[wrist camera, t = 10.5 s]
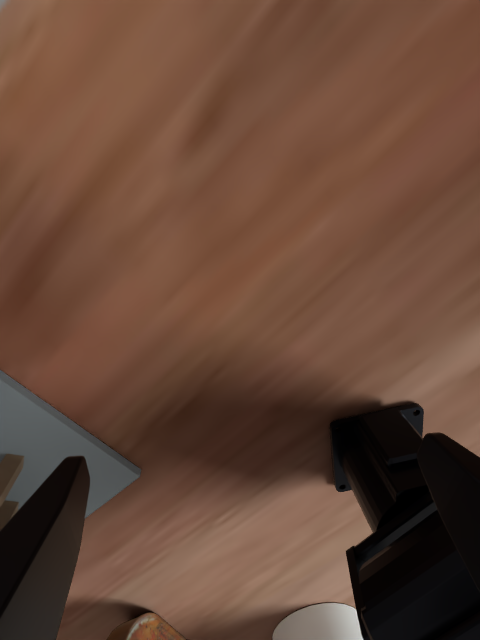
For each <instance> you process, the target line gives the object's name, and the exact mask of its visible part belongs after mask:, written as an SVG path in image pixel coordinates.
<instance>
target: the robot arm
mask: <svg viewBox="0 0 480 640" xmlns="http://www.w3.org/2000/svg"><path fill="white" fill-rule="evenodd" d="M415 410H416V411H415ZM414 411H415V412H414ZM423 414H424V411H423V408H422V407H421V406H420V405H419V404H417V403H413V404H409V405H404V406H399V407H395V408H390V409H386V410H381V411H376V412H372V413H367V414H362V415H358V416H353V417H348V418H344V419H339V420H335V421H333V422H332V423H331V424H330V427H329V429H330V441H331V453H332V465H333V477H334V485H335V487H336V490H337V491H338V492H344V491H349V490H353V492H354V495H355V497H356V499H357V501H358V503H359V505H360V507H361V509H362V511H363V513H364V515H365V517H366V519H367V521H368V523H369V526H370V528H371V530H372V532H373V533H372V534H371V535H370V536H368V537H367V538H366V539H364V540H363V541H362V542H360V543H359V544H358V545H356V546H352V547H351V548H349V549H348V550H347V551H346V556H347V561H348V567H349V572H350V578H351V583H352V589H353V594H354V600H355V605H356V611H357V616H358V621H359V625H360V630H361V635H362V638H363V640H480V457H478V456H477V455H475V454H474V453H472V452H471V451H469V450H468V449H466V448H465V447H463V446H462V445H460V444H459V443H457V442H455V441H454V440H452V439H451V438H449V437H448V436H446V435H445V434H443V433H427V434H426V435H425V436H424V438H422V432H423ZM337 427H339V428H337ZM336 428H337V429H336ZM89 489H90V475H89V471H88V467H87V462H86V459H85V457H84V456H69V457H66V458H65V459H64V460H63V461H62V462H61V463H60V464H59V465H58V466H57V467H56V469H55V470H54V471H53V472H52V473H51V474H50V475H49V476H48V477H47V479H46V480H45V481H44V482H43V483H42V484H41V485H40V486H39V488H38V489H37V490H36V491H35V492H34V493H33V494H32V495H31V497H30V498H29V499H28V500H27V501H26V502H25V503H24V504H23V506H22V507H21V508H20V509H19V510H18V511H17V512H16V513H15V515H14V516H13V517H12V518H11V519H10V520H9V521H8V522H7V524H6V525H5V526H4V527H3V528H2V529H1V530H0V640H56V637H57V633H58V630H59V626H60V622H61V619H62V615H63V611H64V608H65V604H66V600H67V597H68V593H69V589H70V585H71V582H72V578H73V574H74V571H75V567H76V563H77V559H78V555H79V550H80V545H81V539H82V533H83V526H84V520H85V514H86V508H87V501H88V495H89Z"/></svg>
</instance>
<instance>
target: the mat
mask: <svg viewBox="0 0 480 640" xmlns="http://www.w3.org/2000/svg"><path fill="white" fill-rule="evenodd" d="M6 454H14V455H21V456H24V463H23V469H22V470H21V472H20V474H19V476H18V477H17V479H16V481H15V483H14V485H13V486H12V488H11V490H10V492H9V493H8V495H7V497H6V499H5V500H6V501H15V502H19V505H18V510H19V509H20V508H21V507H22V506H23V504H24V503H25V502H26V501H27V500H28V499H29V498H30V497H31V495H32V494H33V493H34V492H35V491H36V490H37V489H38V488H39V486H40V485H41V484H42V483H43V482H44V481H45V480H46V479H47V477H48V476H49V475H50V474H51V473H52V472H53V471H54V470H55V469H56V467H57V466H58V465H59V464H60V463H61V462H62V461H63V460H64V459H65V458H66V457H69V456H84V457H85V459H86V462H87V467H88V471H89V475H90V489H89V495H88V501H87V508H86V514H85V518H86V517H88V516H89V515H90V514H92V513H93V512H94V511H95V510H97V509H98V508H99V507H101V506H102V505H103V504H105V503H106V502H107V501H109V500H110V499H111V498H113V497H114V496H115V495H116V494H118V493H119V492H120V491H122V490H123V489H124V488H126V487H127V486H128V485H130V484H131V483H132V482H134V481H135V480H136V479H137V478H139V477H140V474H141V469H140V468H138V467H137V466H135V465H134V464H133V463H131V462H130V461H128V460H127V459H125V458H124V457H123V456H121V455H120V454H118V453H117V452H116V451H114V450H113V449H111V448H110V447H108V446H107V445H106V444H104V443H103V442H101V441H100V440H99V439H97V438H96V437H94V436H93V435H91V434H90V433H89V432H87V431H86V430H84V429H83V428H82V427H80V426H79V425H77V424H76V423H74V422H73V421H72V420H70V419H69V418H67V417H66V416H65V415H63V414H62V413H60V412H59V411H57V410H56V409H55V408H53V407H52V406H50V405H49V404H48V403H46V402H45V401H43V400H42V399H40V398H39V397H38V396H36V395H35V394H33V393H32V392H31V391H29V390H28V389H26V388H25V387H23V386H22V385H21V384H19V383H18V382H16V381H15V380H14V379H12V378H11V377H9V376H8V375H6V374H5V373H4V372H2V371H1V370H0V463H1V461H2V460H3V458H4V457H5V455H6Z"/></svg>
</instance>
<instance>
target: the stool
mask: <svg viewBox="0 0 480 640" xmlns="http://www.w3.org/2000/svg"><path fill="white" fill-rule="evenodd" d="M23 463H24V456H21V455H14V454H6V455H5V457H4V458H3V460H2V461H1V463H0V530H1V529H2V528H3V527H4V526H5V525H6V524H7V522H8V521H9V520H10V519H11V518H12V517H13V516H14V515H15V513H16V512H17V511H18V505H19V502H15V501H6V500H5V499H6V497H7V495H8V493H9V492H10V490H11V488H12V486H13V485H14V483H15V481H16V479H17V477H18V476H19V474H20V472H21V470H22V469H23Z"/></svg>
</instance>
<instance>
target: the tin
mask: <svg viewBox="0 0 480 640" xmlns="http://www.w3.org/2000/svg"><path fill="white" fill-rule="evenodd" d="M107 640H187V639H185V638H184V637H183V636H182V635H181V634H179V633H178V632H177V631H176V630H175V629H174V628H172V627H171V626H170V625H169V624H168V623H167V622H166V621H164V620H163V619H162V618H161V617H160V616H158V615H157V614H155V613H145V614H142V615H141V616H139V617H138V618H135V619H132V620H129V621H127V622H124V623H122V624H121V625H119V626H118V627H117V628H115V629H114V630H113V632H112V633H111V634H110V635H109V637H108V638H107Z"/></svg>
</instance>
